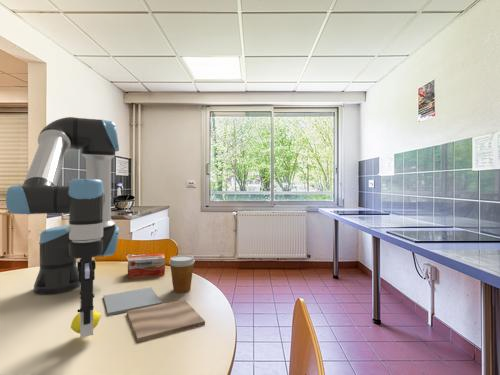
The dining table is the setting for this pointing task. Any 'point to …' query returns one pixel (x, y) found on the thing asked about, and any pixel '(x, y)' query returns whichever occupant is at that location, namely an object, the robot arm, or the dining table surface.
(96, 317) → the lemon
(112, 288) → the dining table surface
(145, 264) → the medicine box
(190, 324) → the walnut board
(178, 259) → the disposable coffee cup
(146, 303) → the slate grey mat
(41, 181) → the robot arm
